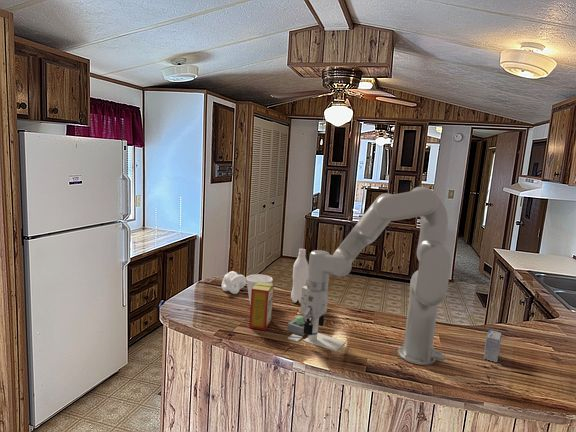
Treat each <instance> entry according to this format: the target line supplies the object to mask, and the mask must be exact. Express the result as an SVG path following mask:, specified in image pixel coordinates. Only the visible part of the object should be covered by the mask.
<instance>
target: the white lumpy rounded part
mask: <svg viewBox="0 0 576 432" xmlns="http://www.w3.org/2000/svg"><path fill="white" fill-rule="evenodd" d="M246 285H247V280H246V276H245V275H243V274H238V272H236V271H234V270H232V271H229V272H227V273H226V274H224V276H223V279H222V281H221V289H222V291H224V292H230V293H231V294H233V295H236V294H237V295H238V293H239V292H240V290H241V289H242V288H244V287H245V286H246Z"/></svg>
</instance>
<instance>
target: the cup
mask: <svg viewBox="0 0 576 432" xmlns="http://www.w3.org/2000/svg"><path fill="white" fill-rule="evenodd" d="M245 278H246V285H247V293H248V300H249V306H250V305H251V291H252V288H253V287H254V286H255V285H256V284H257V282H265V283H272V284H273V280H274V278H272V276H269V275H267V274H259V273H256V274H250V275H247V276H245Z"/></svg>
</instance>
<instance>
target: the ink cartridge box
mask: <svg viewBox="0 0 576 432" xmlns="http://www.w3.org/2000/svg"><path fill="white" fill-rule="evenodd" d="M307 292H308V289H307V285H306V286H304V287H302V296H301V303H300V311H299V313H300V314H302V315H304V313H305V304H306V297H307Z"/></svg>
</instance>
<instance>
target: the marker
mask: <svg viewBox="0 0 576 432" xmlns="http://www.w3.org/2000/svg"><path fill="white" fill-rule="evenodd" d="M310 315H311V314H310ZM311 316H312V315H311ZM309 320H311V318H309ZM318 323H319V318H318V319H315V318H314V320H313V322H312V324H313V330H312V335H308V336H309V337H308V336H307V337H308V340H309V341H311V342H315V341H317V334H318V333H319V325H318Z"/></svg>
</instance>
